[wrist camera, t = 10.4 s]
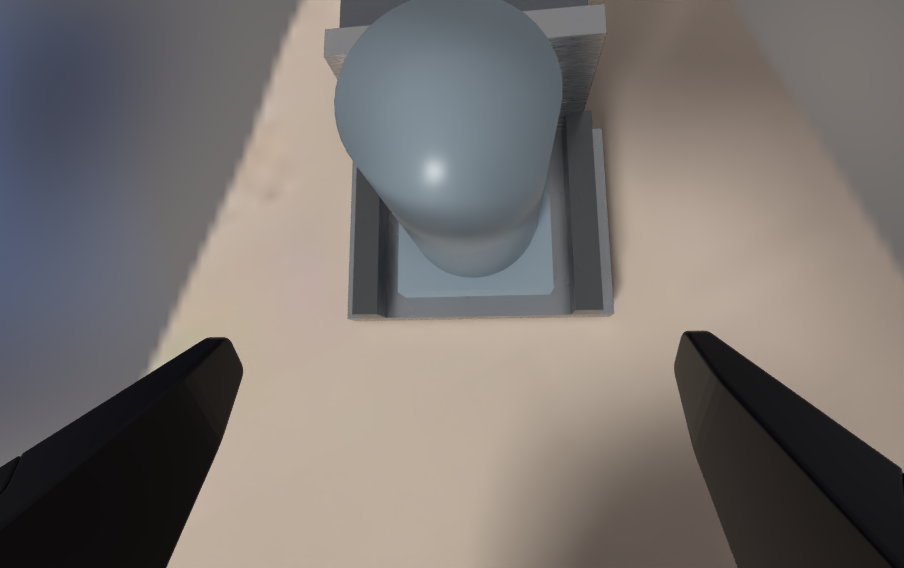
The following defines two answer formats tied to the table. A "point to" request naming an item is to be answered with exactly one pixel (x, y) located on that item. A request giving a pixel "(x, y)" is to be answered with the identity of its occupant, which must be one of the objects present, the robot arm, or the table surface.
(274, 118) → the table surface
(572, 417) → the table surface
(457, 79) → the blue-grey knob on base
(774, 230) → the table surface
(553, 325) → the table surface
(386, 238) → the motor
